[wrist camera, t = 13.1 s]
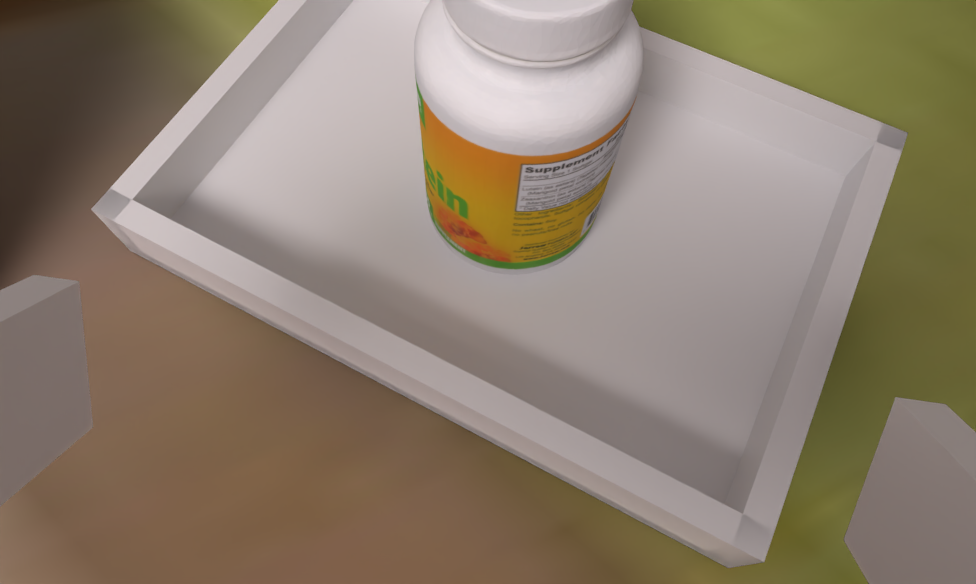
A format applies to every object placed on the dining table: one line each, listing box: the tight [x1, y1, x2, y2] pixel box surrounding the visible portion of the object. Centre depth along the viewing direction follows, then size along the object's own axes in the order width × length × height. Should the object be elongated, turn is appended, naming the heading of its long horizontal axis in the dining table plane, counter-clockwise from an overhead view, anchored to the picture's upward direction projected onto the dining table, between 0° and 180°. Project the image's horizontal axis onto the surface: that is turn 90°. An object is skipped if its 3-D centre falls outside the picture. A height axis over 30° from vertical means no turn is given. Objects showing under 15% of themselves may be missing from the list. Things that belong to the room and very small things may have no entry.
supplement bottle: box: [414, 0, 644, 275], centre depth 18 cm, size 5×5×10 cm
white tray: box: [91, 0, 908, 568], centre depth 22 cm, size 20×14×2 cm
